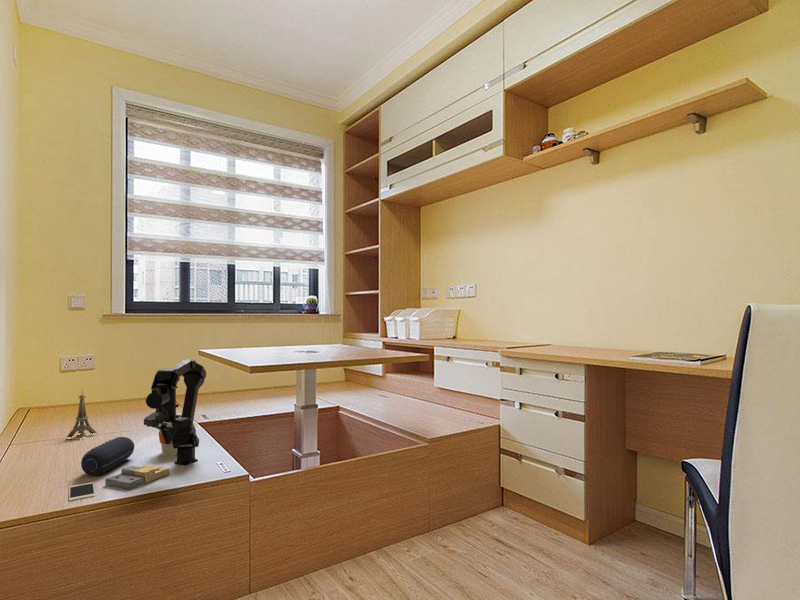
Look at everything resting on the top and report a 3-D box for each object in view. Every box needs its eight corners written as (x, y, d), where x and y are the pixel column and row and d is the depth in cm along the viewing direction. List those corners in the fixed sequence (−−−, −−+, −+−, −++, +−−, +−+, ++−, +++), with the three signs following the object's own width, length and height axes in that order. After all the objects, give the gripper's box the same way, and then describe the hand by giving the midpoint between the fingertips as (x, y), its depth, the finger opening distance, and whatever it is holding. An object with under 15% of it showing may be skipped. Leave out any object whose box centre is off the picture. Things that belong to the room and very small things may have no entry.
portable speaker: (112, 458, 197) (113, 434, 198) (137, 457, 198) (137, 434, 198) (75, 479, 172) (75, 452, 173) (103, 478, 173) (103, 451, 173)
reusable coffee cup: (150, 454, 201) (151, 420, 202) (174, 447, 213) (174, 414, 214) (173, 457, 197) (173, 421, 198) (195, 449, 209) (195, 415, 209)
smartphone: (68, 502, 151) (68, 499, 151) (69, 488, 164) (69, 485, 164) (95, 497, 155) (95, 494, 155) (93, 484, 168) (93, 481, 168)
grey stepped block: (131, 476, 174) (131, 465, 174) (154, 480, 170) (154, 469, 170) (105, 485, 165) (105, 474, 165) (129, 489, 160) (129, 478, 160)
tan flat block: (146, 470, 180) (146, 460, 180) (169, 473, 176) (169, 463, 176) (121, 479, 171) (121, 468, 171) (144, 483, 166) (144, 472, 166)
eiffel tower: (99, 434, 239) (99, 385, 240) (83, 440, 228) (83, 389, 229) (80, 434, 240) (80, 385, 241) (63, 439, 229) (64, 389, 230)
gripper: (130, 405, 171) (130, 447, 171) (167, 409, 164) (168, 453, 164) (156, 399, 181) (156, 439, 181) (192, 402, 174) (193, 444, 174)
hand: (167, 444), depth 175 cm, fingers closed
